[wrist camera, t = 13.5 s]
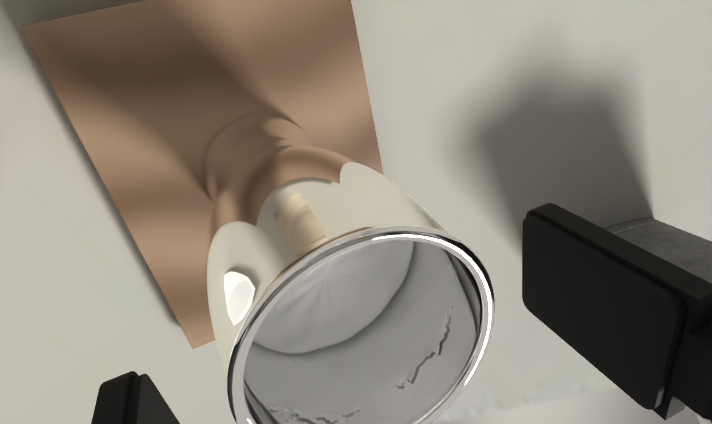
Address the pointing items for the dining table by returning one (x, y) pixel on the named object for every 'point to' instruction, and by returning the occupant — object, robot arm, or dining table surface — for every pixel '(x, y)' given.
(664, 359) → the robot arm
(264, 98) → the serving board
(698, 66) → the dining table surface
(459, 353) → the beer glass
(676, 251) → the flask
